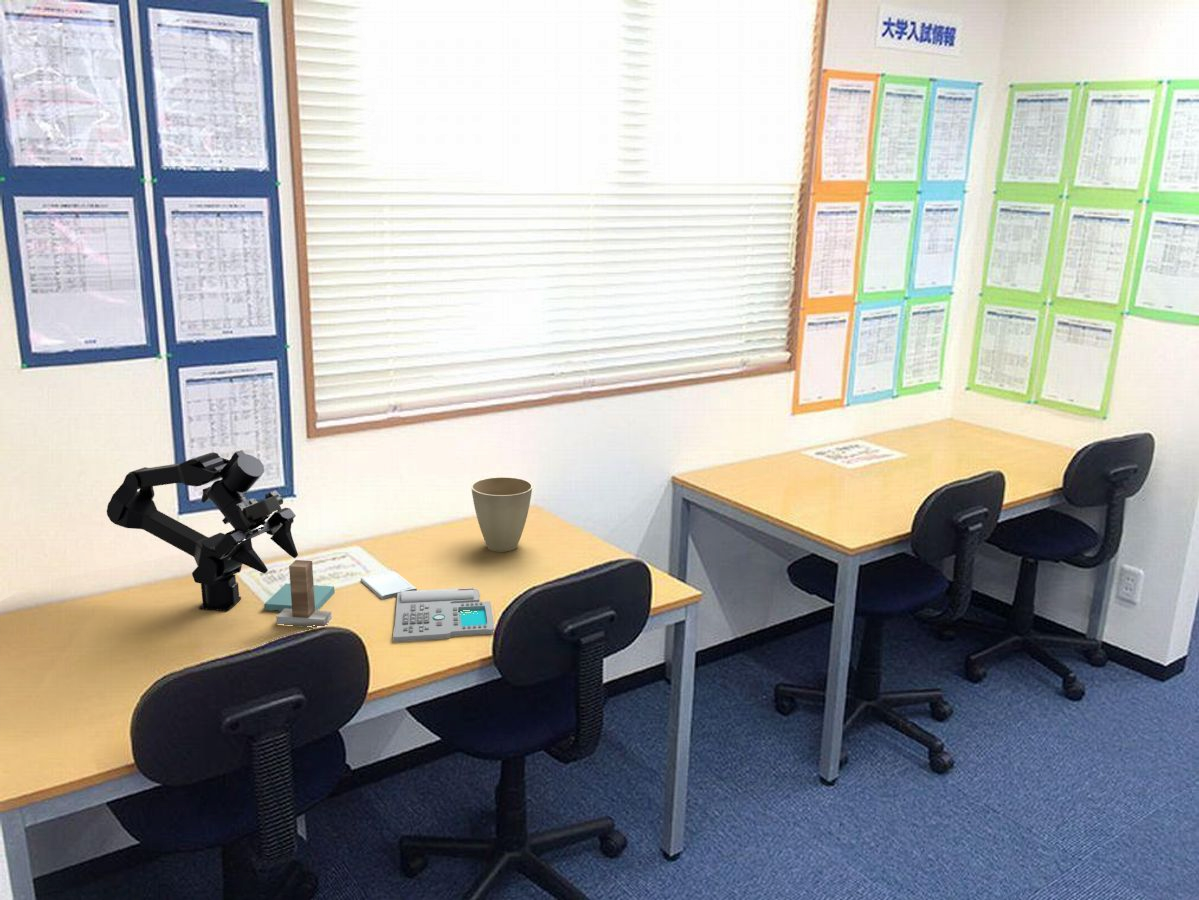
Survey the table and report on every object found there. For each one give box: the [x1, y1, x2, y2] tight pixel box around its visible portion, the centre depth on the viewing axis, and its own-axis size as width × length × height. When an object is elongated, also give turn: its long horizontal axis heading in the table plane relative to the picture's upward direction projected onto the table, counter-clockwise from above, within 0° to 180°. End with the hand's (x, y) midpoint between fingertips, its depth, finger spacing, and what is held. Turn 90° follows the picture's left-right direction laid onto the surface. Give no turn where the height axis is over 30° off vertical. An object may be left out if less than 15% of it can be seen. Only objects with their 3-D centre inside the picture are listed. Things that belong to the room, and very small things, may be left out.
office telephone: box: [392, 587, 495, 643], centre depth 208 cm, size 23×3×20 cm
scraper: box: [275, 559, 333, 629], centre depth 202 cm, size 4×10×13 cm, turn 84°
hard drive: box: [360, 570, 418, 600], centre depth 222 cm, size 2×8×12 cm
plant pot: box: [470, 476, 533, 553], centre depth 245 cm, size 15×15×16 cm
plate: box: [264, 583, 335, 612], centre depth 213 cm, size 11×11×2 cm
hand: (281, 564), depth 202 cm, fingers open, 9 cm apart
